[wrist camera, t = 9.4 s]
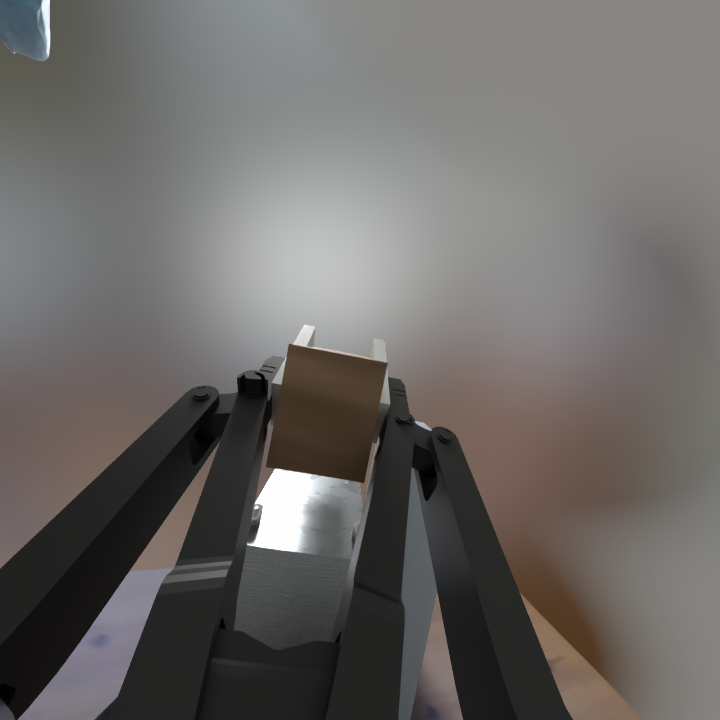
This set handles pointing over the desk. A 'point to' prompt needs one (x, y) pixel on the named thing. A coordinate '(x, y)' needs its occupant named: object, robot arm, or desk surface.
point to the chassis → (297, 558)
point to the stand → (414, 596)
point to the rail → (326, 413)
